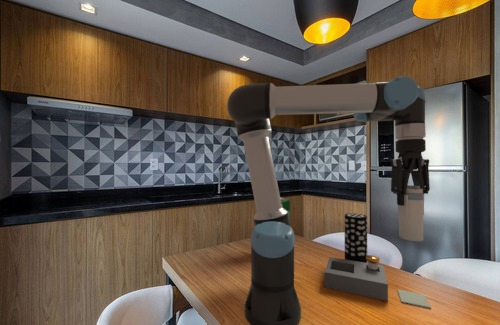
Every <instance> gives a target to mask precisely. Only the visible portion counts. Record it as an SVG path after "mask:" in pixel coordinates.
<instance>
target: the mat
mask: <svg viewBox="0 0 500 325" xmlns="http://www.w3.org/2000/svg"><path fill="white" fill-rule="evenodd" d="M397 292H398V295H399V299H400V303H402V302H403V303H402V304H406V303H408V304H407V305H411V304H412V306H416V307H420V306H421V308H425V307H426V309H430V310H431V308H432V307H431V305H430V302H429V301H428V299H427V297H426V295H425V294H424V293H423V294H422V293H417V292H413V291H408V290H402V289H397Z"/></svg>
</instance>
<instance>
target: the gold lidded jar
mask: <svg viewBox="0 0 500 325" xmlns="http://www.w3.org/2000/svg"><path fill="white" fill-rule="evenodd" d="M366 260H367V263H368V270H371V271H377V272H378V265H379V263H380V257H379V256H376V255H374V254H373V255H371V254H367V256H366Z"/></svg>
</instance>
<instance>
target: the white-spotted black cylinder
mask: <svg viewBox="0 0 500 325" xmlns="http://www.w3.org/2000/svg"><path fill="white" fill-rule="evenodd" d="M367 255H368V216H367V215H366V214H361V213H355V212H354V213H351V212H349V213H344V259H345V260H351V261H358V262H364V263H368V261H367V260H366V256H367Z"/></svg>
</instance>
